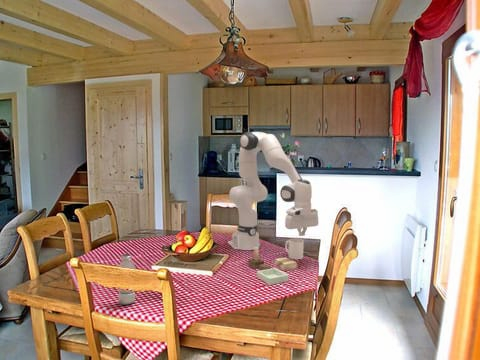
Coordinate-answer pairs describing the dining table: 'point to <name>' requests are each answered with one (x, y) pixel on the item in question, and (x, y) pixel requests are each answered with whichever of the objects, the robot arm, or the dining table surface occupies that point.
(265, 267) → the small brown block
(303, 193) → the robot arm
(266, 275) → the tray
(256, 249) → the dowel
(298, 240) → the cup
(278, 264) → the board
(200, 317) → the dining table surface
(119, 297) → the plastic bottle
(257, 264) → the socket block
